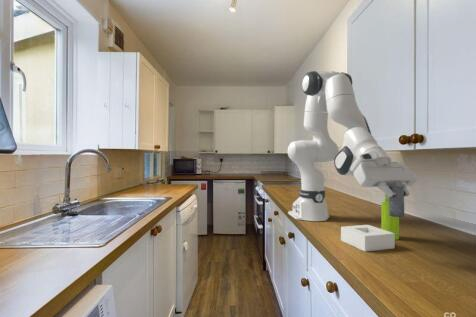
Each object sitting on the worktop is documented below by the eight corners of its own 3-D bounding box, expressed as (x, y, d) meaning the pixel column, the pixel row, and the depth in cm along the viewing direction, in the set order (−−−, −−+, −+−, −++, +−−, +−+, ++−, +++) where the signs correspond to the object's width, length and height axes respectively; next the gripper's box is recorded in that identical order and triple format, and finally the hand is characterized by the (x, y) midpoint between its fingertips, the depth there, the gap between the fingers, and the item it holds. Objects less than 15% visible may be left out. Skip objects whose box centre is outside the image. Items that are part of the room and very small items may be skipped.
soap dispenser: (404, 240, 98) (405, 186, 98) (385, 239, 99) (385, 185, 99) (397, 235, 104) (397, 184, 104) (378, 234, 105) (379, 184, 105)
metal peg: (386, 215, 83) (385, 186, 83) (396, 214, 84) (396, 186, 84) (396, 217, 79) (396, 187, 79) (407, 216, 80) (407, 187, 80)
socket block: (340, 240, 98) (341, 226, 98) (368, 237, 101) (368, 224, 101) (364, 251, 86) (364, 236, 86) (394, 248, 90) (394, 233, 90)
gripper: (394, 168, 95) (419, 200, 86) (345, 168, 89) (366, 203, 80) (405, 156, 91) (433, 188, 81) (355, 155, 85) (378, 190, 76)
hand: (399, 195), depth 81 cm, fingers closed on metal peg, 4 cm apart
